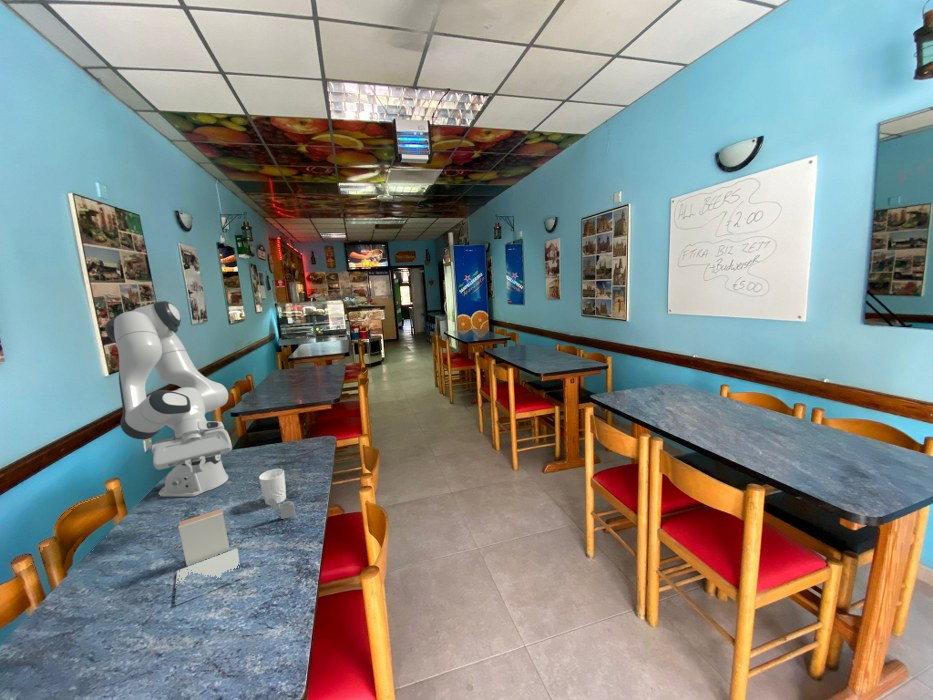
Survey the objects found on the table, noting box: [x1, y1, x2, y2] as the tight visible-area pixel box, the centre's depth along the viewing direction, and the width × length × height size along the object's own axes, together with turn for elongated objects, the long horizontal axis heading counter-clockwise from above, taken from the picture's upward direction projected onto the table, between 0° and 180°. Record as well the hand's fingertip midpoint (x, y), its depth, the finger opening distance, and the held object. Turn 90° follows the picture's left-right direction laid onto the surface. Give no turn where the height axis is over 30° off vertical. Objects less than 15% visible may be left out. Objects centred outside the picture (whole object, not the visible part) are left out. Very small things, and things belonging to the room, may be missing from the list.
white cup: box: [258, 468, 287, 506], centre depth 134 cm, size 8×8×10 cm
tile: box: [178, 508, 230, 566], centre depth 107 cm, size 3×10×12 cm, turn 124°
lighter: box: [268, 497, 296, 520], centre depth 123 cm, size 7×2×8 cm, turn 116°
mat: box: [175, 548, 241, 587], centre depth 100 cm, size 14×14×1 cm
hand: (196, 472), depth 117 cm, fingers closed
